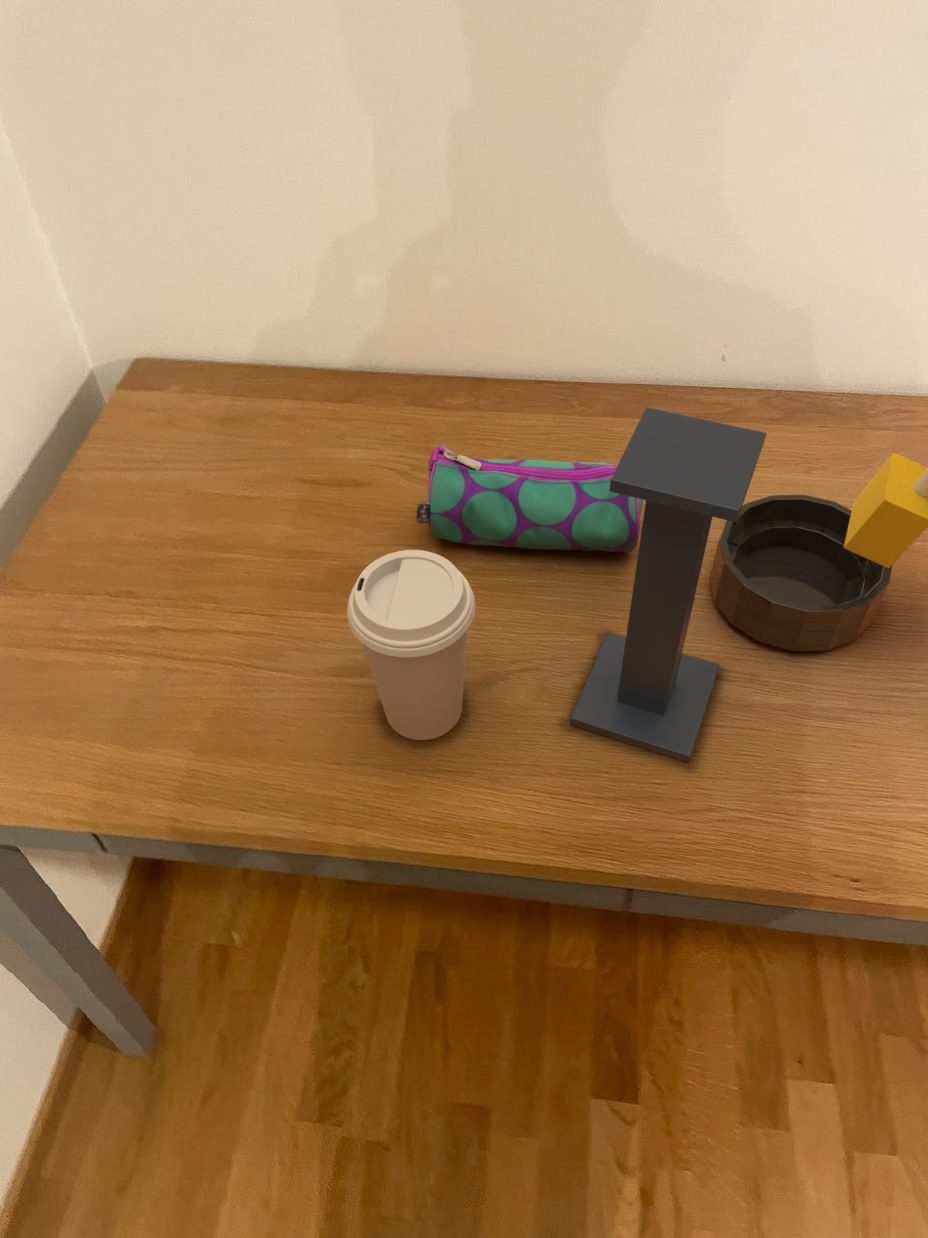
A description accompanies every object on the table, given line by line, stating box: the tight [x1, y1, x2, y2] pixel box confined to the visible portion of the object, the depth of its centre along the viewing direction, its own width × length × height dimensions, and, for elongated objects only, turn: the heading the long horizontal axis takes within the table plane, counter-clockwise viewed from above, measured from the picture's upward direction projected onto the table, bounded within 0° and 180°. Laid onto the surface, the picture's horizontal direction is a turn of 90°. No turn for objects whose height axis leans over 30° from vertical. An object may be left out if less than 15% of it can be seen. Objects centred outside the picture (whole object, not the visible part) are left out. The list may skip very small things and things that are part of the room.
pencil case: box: [416, 444, 644, 553], centre depth 88 cm, size 21×9×10 cm, turn 82°
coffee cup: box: [346, 549, 476, 741], centre depth 73 cm, size 10×10×15 cm
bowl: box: [709, 493, 894, 652], centre depth 83 cm, size 14×14×6 cm
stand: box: [569, 406, 767, 764], centre depth 68 cm, size 10×10×26 cm
